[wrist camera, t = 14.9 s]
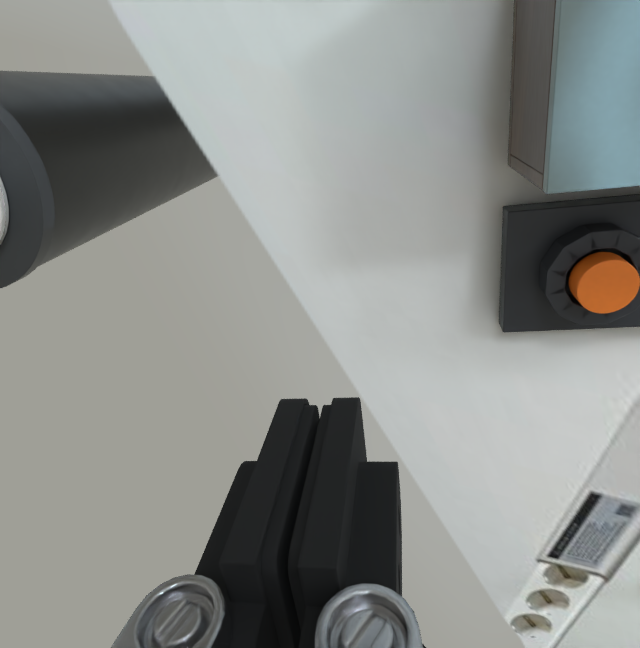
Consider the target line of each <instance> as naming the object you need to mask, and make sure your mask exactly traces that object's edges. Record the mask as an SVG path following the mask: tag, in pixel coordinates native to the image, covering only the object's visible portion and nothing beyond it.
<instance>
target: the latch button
mask: <svg viewBox="0 0 640 648" xmlns="http://www.w3.org/2000/svg"><path fill="white" fill-rule="evenodd" d="M639 286H640V278H639V274H638V272H637V270H636V269H635V268H634V267H633V266H632V265H631V264H629V263H628V262H627V261H626V260H624V259H623V258H622V257H620V256H619V255H617V254H615V253H611V252H597V253H593V254H590V255H588V256H586V257H584V258H583V259H581V260H580V261H579V262H578V263H577V264H576V265H575V266H574V268H573V269H572V271H571V273H570V276H569V288H570V291H571V293H572V294H573V295H574V297H575V298H576V299H577V300H578V302H579V303H580V304H581V305H582V306H583V307H584V308H585V309H587V310H589V311H591V312H594V313H611V312H615V311H618V310H620V309H622V308H624V307H625V306H626V305H628V304H629V303H630V302H631V301H632V300H633V299H634V297H635V296H636V294H637V292H638V290H639Z"/></svg>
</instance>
